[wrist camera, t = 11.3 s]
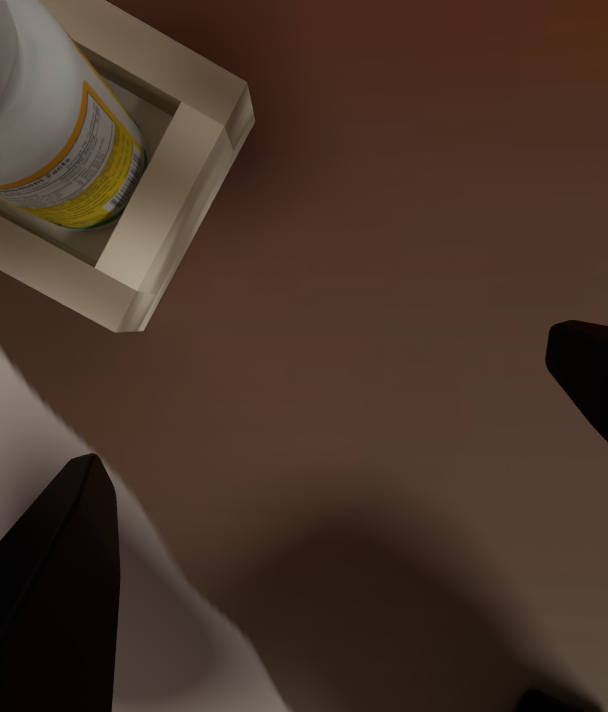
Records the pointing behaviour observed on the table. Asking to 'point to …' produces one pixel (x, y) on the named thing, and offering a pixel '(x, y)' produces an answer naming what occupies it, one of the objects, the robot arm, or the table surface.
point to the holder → (159, 182)
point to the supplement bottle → (61, 127)
